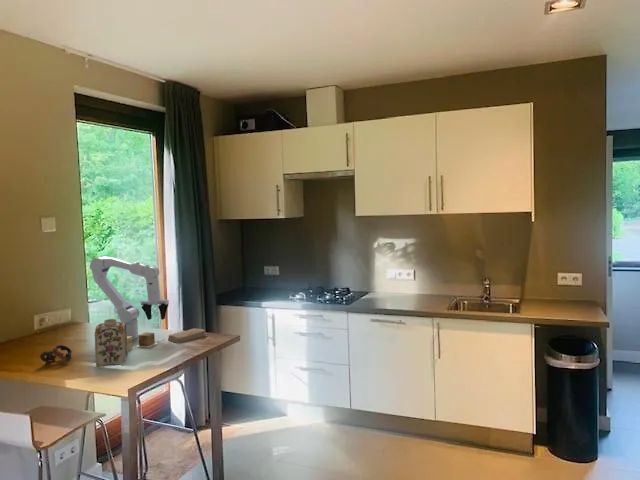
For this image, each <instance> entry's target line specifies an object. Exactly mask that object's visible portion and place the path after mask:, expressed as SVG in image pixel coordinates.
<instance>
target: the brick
mask: <svg viewBox="0 0 640 480" xmlns="http://www.w3.org/2000/svg"><path fill="white" fill-rule="evenodd" d="M203 337H206V330H205V329H203V328H190V329H187V330H185V331H180V332H179V331H178V332H175V333H172V334H169V335H168V338H167V341H169V342H172V343H175V344H179V343H183V342H187V341H191V340H194V339H199V338H203Z"/></svg>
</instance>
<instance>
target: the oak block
mask: <svg viewBox="0 0 640 480" xmlns="http://www.w3.org/2000/svg"><path fill="white" fill-rule="evenodd" d="M132 347H134V346H133V339H132V336H127V350H128V349H130V348H132ZM130 350H131V349H130ZM128 351H129V350H128Z"/></svg>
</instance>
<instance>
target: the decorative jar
mask: <svg viewBox="0 0 640 480" xmlns="http://www.w3.org/2000/svg"><path fill="white" fill-rule="evenodd" d="M126 328H127V327H126V324H125V323H122V322H121V321H117V319H116V318H108V319H105V320H104V322H103V323H101V322H100V323H98V324H97V325H95V329H94V351H95V356H94V357H95V365H96V367H97V368H98V367H110V366H120V365H121V364H117V362H118V363H119V362H126V361H127V360H126V359H127V356H128V351H127V329H126Z"/></svg>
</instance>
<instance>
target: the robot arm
mask: <svg viewBox="0 0 640 480" xmlns="http://www.w3.org/2000/svg"><path fill="white" fill-rule="evenodd" d="M112 267H114V268H117V269H124V270H127V271H129V273H130V274H132V275H136V276H139V277H143V278H144V279H145V282H146V283H145V284H146V295H147V300H146V299H145V300H144V299H143V300H140V305H141V309H142V311H143V312H144V313H145V316H146V318H147V321H149V320H152V319H153V318H152V317H153V316H152V307H153V305H157V307H158V309H159V313H160V319H161V320H165V319H166V314H167V310H168V308H169V304H170V302H169V301H170V300H169V299H161V292H160V282H159V276H160V270H159V268H158V267H156V266H155V265H152V266H150V264H142V263H141V262H140V261H134V262H133V263H131V262H127V261H125V260H123V259H118V258H117V257H116V258H115V257H113V256H107V255H103V256H101V257H94V258H93V259H91V260H90V264H89V269H90V270H91V273H92V277H93V281H94V282H95V284H96V285H97V286H98V287H99V288H100V290H102V292H103V293H104V295H105V296H106V297H107V298H108V300H109V301H110V302H111V304H112V305H113V306H114V307H115V308H116V314H117V316H118V319H119V322H122V323H125V324H126V327H127V328H126V329H127V336H132V340H136V339H138V335H139V326H138V318H139V316H140V311H139V308H137V307H135V306H134V305H133V304H132V303H131V302H128V301H126V299H125V298H124V297H123V295H122V294H121V293H120V291H119V290H118V289H117V288H116V287H115V286H114V285H113V284H112V282H111V281H110V279H109V278H108V277H107V275H108V272H109V270H110V268H112Z"/></svg>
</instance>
